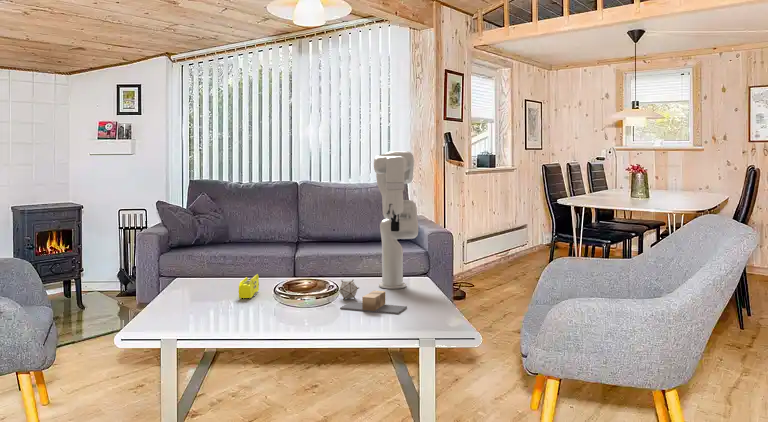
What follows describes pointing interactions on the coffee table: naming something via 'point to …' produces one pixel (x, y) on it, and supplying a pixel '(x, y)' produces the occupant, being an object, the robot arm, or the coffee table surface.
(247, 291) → the yellow toy chassis
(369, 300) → the oak block
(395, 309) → the mat
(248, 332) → the coffee table surface
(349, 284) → the game die
